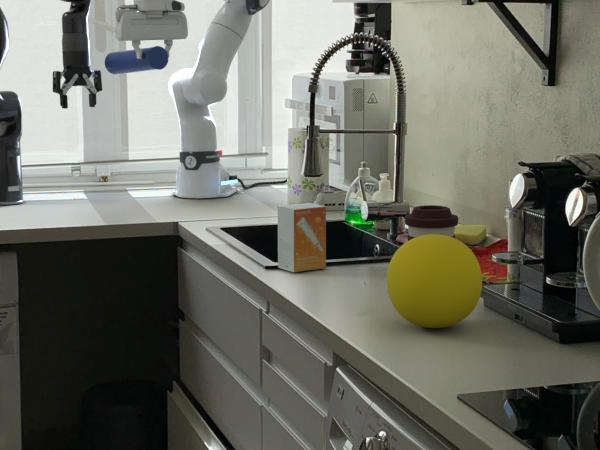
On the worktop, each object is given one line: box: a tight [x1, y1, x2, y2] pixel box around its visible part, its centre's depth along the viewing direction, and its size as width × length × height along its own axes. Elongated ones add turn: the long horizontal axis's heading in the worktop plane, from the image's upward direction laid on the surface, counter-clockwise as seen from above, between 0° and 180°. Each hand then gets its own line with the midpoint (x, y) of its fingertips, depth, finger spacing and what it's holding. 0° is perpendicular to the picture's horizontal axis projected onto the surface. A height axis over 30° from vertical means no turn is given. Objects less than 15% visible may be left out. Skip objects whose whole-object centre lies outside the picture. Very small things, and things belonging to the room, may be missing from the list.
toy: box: [386, 234, 483, 329], centre depth 168 cm, size 15×15×15 cm
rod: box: [104, 45, 169, 75], centre depth 283 cm, size 24×6×6 cm, turn 38°
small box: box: [277, 202, 327, 273], centre depth 214 cm, size 8×6×13 cm
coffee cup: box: [404, 204, 459, 241], centre depth 197 cm, size 10×10×15 cm
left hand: (78, 107), depth 295 cm, fingers open, 8 cm apart
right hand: (153, 58), depth 276 cm, fingers closed on rod, 6 cm apart
